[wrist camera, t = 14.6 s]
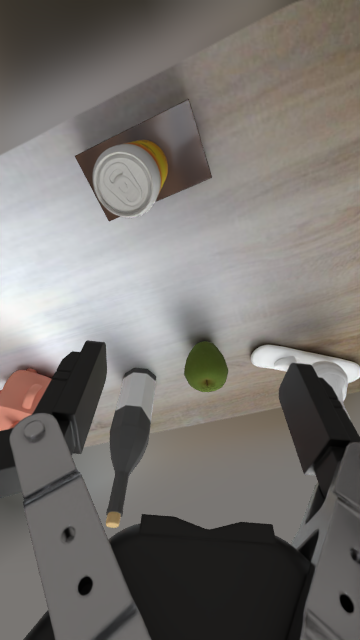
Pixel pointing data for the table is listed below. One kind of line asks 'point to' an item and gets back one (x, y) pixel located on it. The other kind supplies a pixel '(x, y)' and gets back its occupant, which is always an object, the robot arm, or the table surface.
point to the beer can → (130, 177)
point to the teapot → (21, 396)
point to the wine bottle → (129, 434)
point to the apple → (205, 367)
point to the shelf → (174, 140)
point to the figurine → (324, 366)
